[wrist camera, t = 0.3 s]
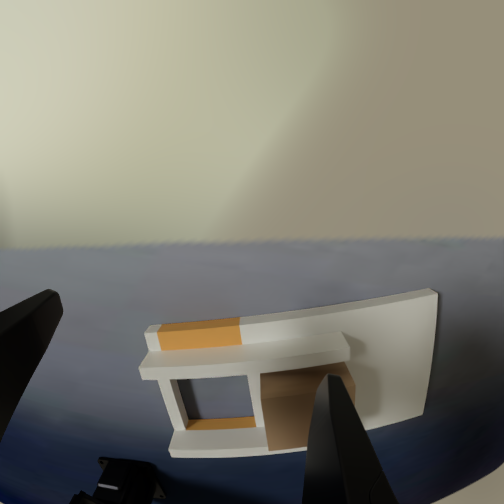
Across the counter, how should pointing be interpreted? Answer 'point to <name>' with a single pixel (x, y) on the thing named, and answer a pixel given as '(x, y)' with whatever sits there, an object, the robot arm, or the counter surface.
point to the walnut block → (295, 402)
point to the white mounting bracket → (296, 364)
